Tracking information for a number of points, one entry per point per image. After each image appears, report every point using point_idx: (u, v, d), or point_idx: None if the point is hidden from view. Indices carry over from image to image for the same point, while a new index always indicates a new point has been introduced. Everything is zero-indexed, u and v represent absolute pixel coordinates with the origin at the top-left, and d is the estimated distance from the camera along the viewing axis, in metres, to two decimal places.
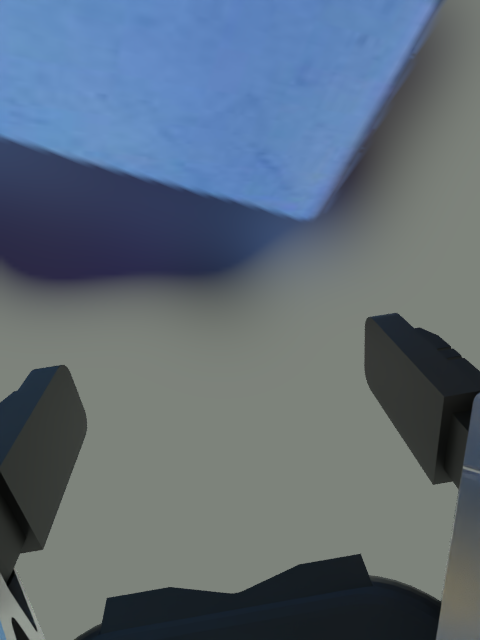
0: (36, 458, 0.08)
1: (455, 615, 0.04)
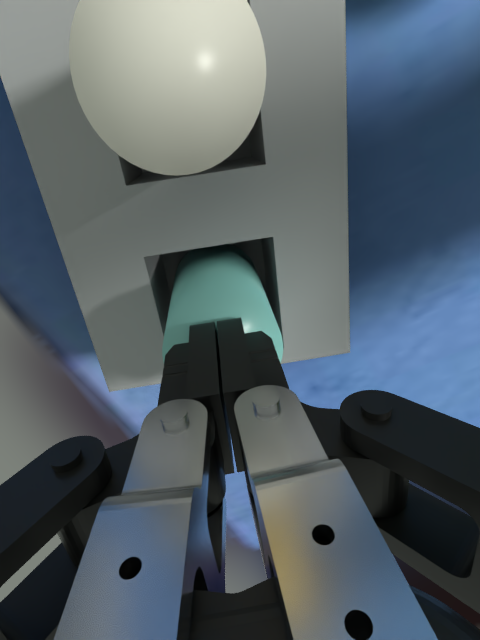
0: (222, 395, 0.09)
1: (307, 636, 0.04)
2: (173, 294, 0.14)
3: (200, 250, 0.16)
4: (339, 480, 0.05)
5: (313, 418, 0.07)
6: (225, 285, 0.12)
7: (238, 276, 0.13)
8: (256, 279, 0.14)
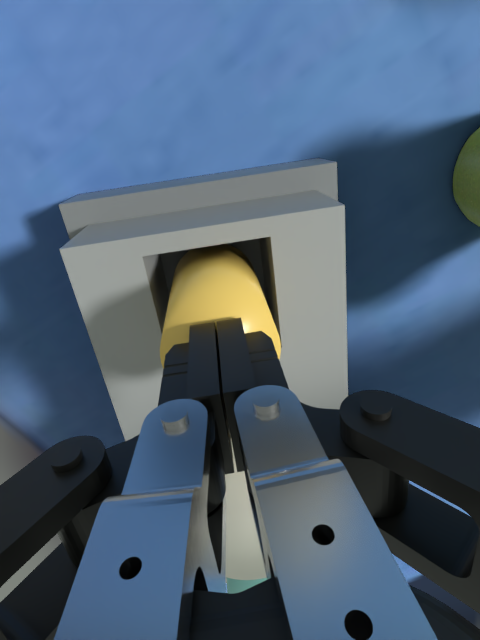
0: (222, 395, 0.09)
1: (307, 636, 0.04)
2: None
3: None
4: (339, 480, 0.05)
5: (313, 418, 0.07)
6: None
7: None
8: None
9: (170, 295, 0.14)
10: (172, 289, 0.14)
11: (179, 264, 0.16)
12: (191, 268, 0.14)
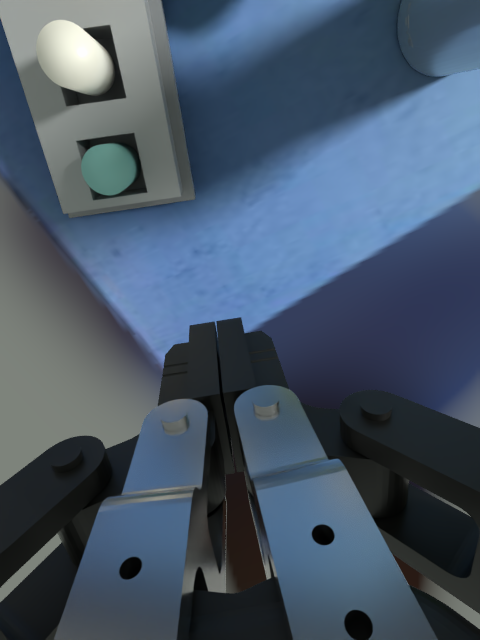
0: (222, 395, 0.09)
1: (306, 636, 0.04)
2: None
3: None
4: (339, 480, 0.05)
5: (313, 418, 0.07)
6: (107, 144, 0.30)
7: (116, 145, 0.31)
8: (129, 151, 0.32)
9: None
10: None
11: None
12: None
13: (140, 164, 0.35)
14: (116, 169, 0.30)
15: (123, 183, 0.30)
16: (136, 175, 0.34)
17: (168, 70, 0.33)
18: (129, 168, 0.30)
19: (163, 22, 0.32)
